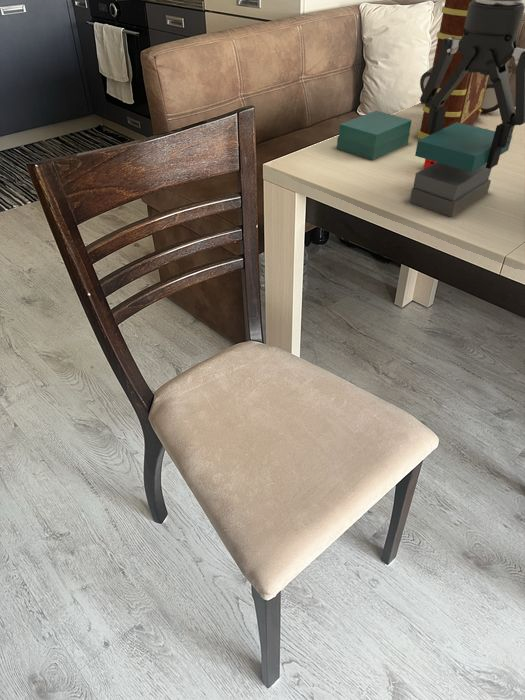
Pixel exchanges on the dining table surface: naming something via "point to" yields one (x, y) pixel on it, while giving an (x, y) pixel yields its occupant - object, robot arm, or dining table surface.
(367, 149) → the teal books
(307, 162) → the dining table surface
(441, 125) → the robot arm
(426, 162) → the rubik's cube
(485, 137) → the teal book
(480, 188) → the gray lidded box
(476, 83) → the decorative book
